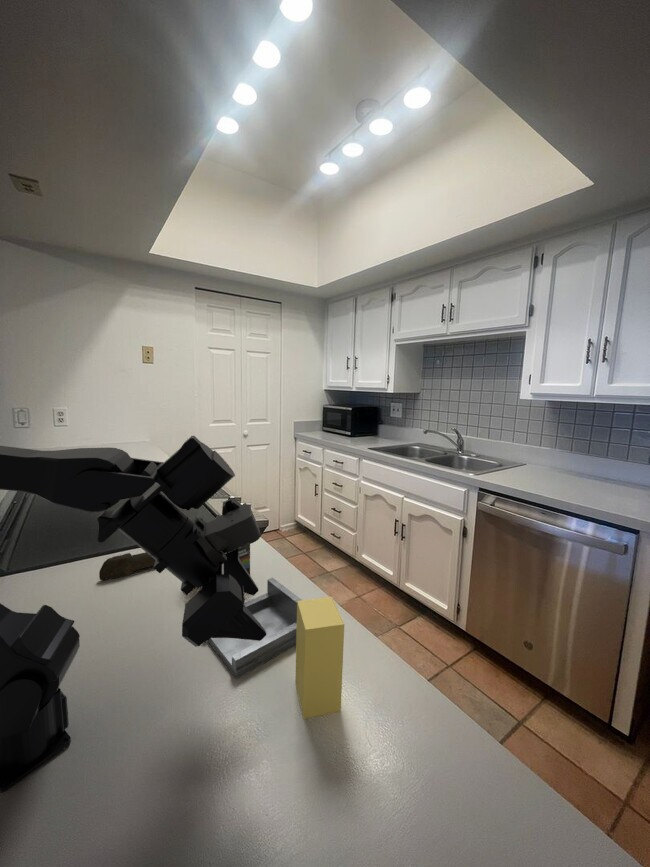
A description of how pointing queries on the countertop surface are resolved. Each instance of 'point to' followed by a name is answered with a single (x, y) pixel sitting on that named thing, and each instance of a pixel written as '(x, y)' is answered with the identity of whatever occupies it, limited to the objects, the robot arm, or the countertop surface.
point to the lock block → (319, 656)
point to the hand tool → (125, 565)
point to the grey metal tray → (277, 621)
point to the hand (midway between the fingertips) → (259, 612)
